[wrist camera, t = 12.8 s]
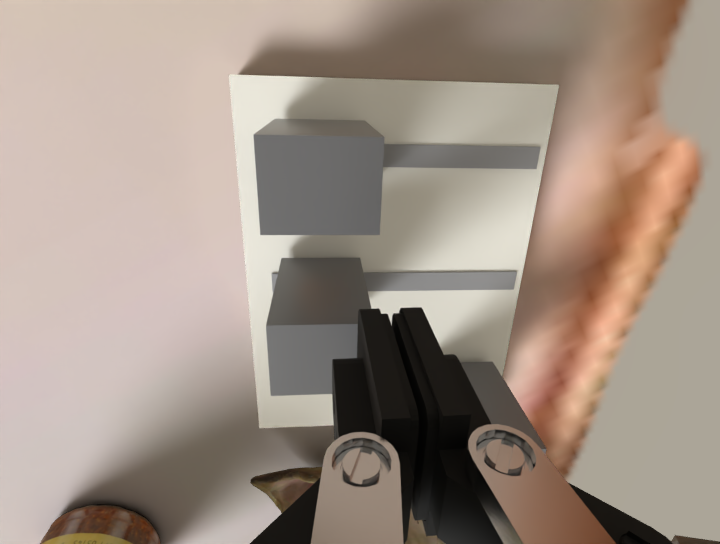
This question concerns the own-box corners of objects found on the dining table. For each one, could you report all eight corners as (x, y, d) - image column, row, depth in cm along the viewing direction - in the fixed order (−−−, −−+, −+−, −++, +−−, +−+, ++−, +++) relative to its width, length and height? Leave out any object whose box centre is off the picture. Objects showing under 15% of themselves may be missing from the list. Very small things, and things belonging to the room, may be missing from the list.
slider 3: (426, 363, 19) (459, 452, 14) (492, 361, 19) (546, 448, 14) (421, 406, 20) (451, 503, 15) (484, 404, 20) (533, 498, 15)
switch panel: (237, 75, 15) (228, 74, 14) (539, 84, 16) (560, 84, 15) (263, 406, 21) (259, 429, 20) (483, 398, 22) (494, 420, 21)
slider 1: (275, 118, 14) (253, 134, 10) (364, 120, 15) (384, 137, 10) (278, 189, 15) (260, 235, 11) (362, 190, 16) (379, 235, 11)
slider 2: (281, 258, 16) (265, 325, 12) (360, 257, 17) (375, 323, 12) (284, 313, 17) (270, 395, 13) (358, 312, 17) (371, 392, 13)
